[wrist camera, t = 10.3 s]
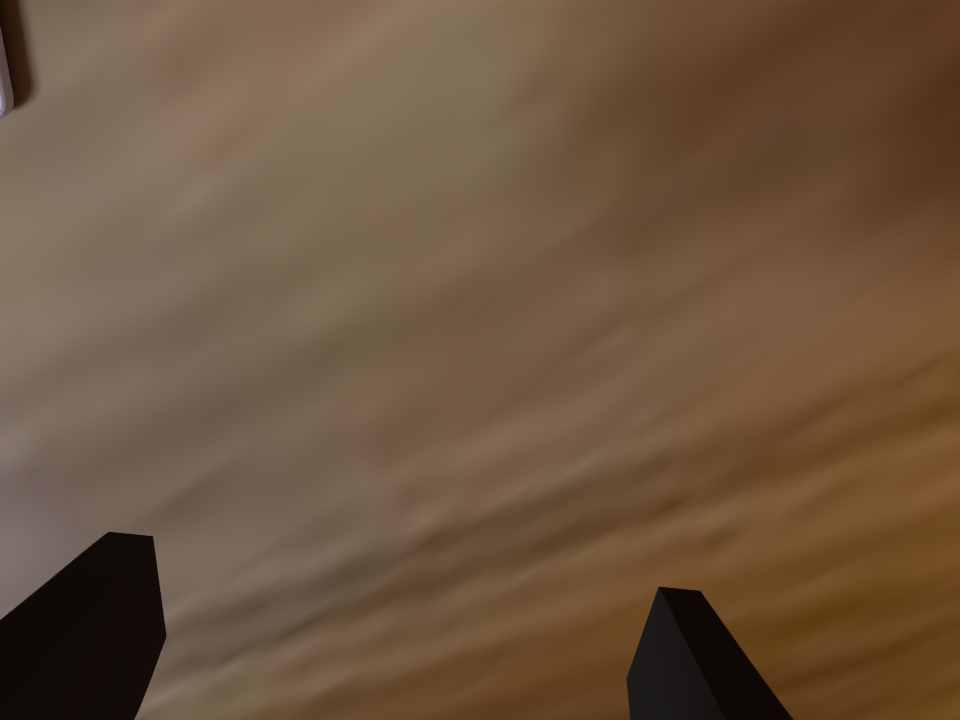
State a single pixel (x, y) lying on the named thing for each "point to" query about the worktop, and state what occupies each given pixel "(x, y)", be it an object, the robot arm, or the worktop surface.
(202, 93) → the worktop surface
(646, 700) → the robot arm
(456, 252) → the worktop surface
